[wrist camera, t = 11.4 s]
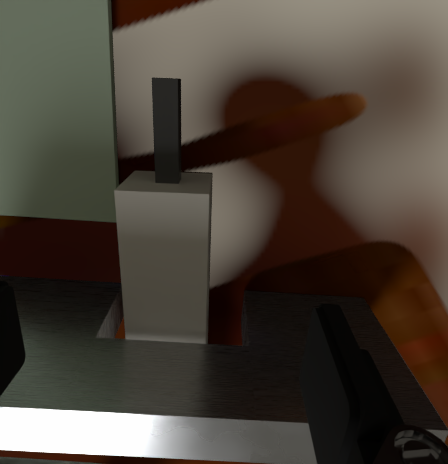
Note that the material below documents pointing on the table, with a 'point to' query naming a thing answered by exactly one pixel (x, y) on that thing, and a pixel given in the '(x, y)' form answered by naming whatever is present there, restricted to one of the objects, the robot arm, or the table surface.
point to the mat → (57, 110)
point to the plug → (165, 235)
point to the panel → (178, 379)
